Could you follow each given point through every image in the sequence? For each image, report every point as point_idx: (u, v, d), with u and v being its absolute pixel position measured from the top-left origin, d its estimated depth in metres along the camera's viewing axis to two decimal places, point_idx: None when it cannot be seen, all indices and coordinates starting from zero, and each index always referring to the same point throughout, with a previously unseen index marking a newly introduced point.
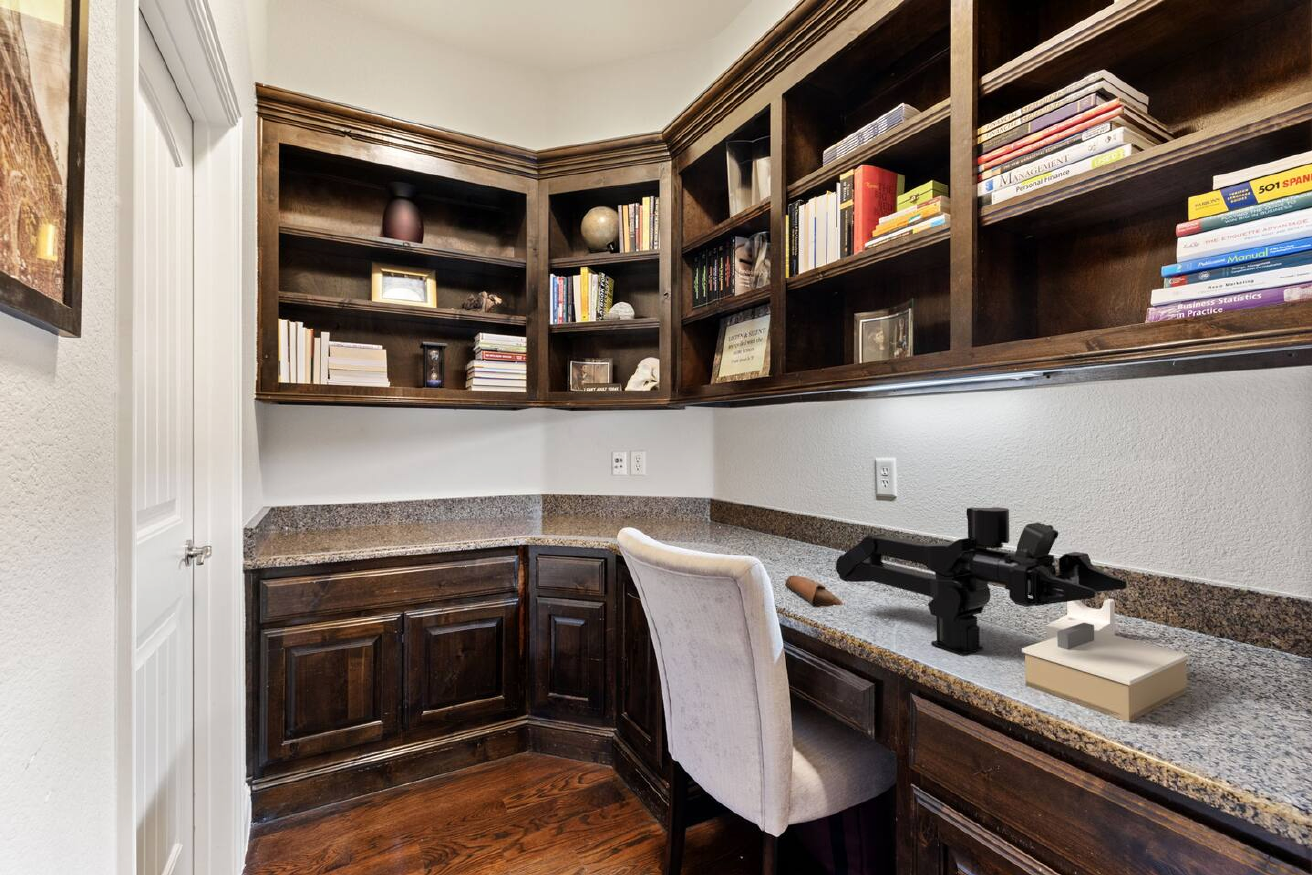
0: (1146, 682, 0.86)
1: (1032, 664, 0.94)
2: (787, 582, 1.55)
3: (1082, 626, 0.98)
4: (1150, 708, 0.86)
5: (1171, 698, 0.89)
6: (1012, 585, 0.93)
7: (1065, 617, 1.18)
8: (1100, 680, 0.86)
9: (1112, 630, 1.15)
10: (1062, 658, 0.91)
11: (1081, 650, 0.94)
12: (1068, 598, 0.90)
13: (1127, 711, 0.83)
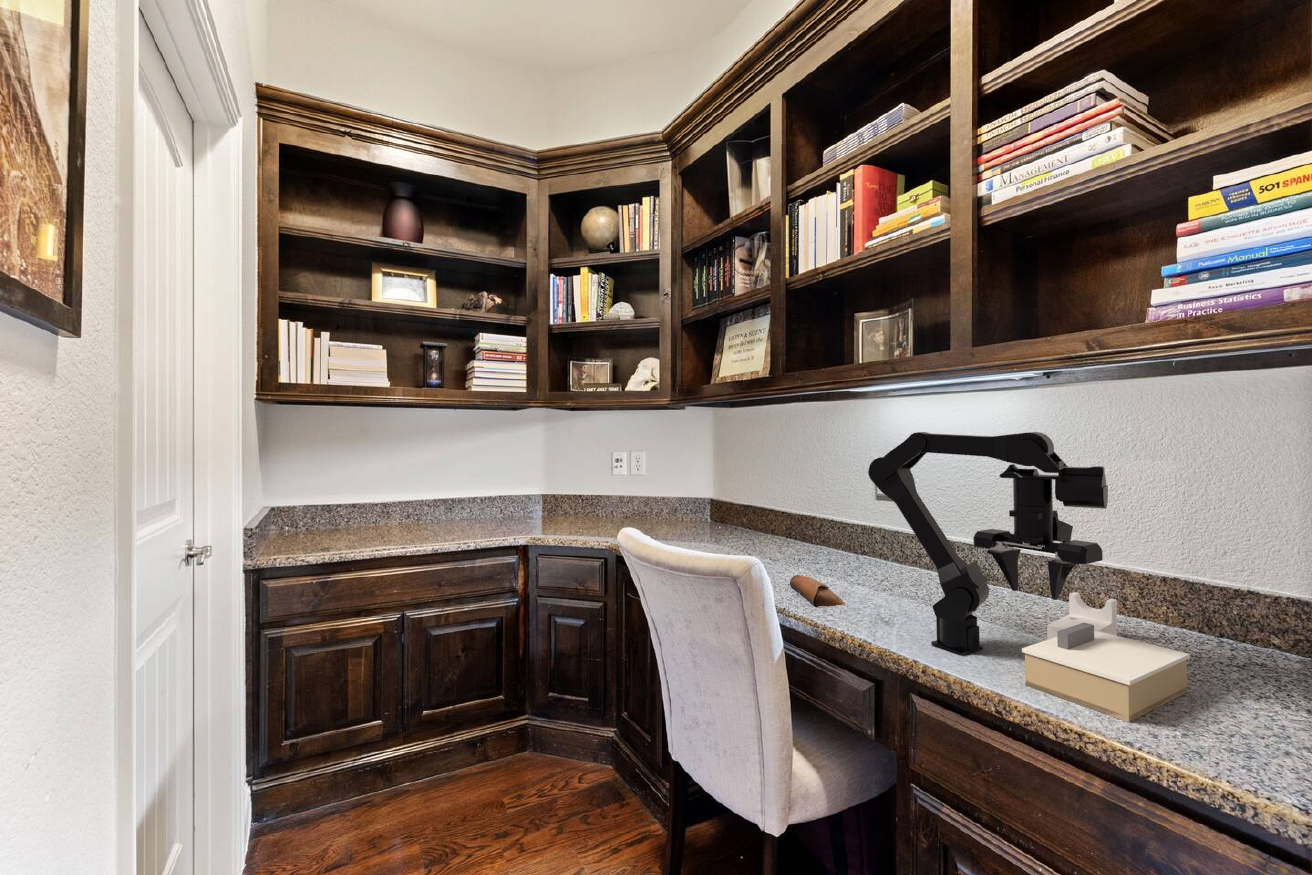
0: (1146, 682, 0.86)
1: (1032, 664, 0.94)
2: (791, 581, 1.55)
3: (1082, 626, 0.98)
4: (1150, 708, 0.86)
5: (1171, 698, 0.89)
6: (1093, 550, 0.95)
7: (1067, 617, 1.18)
8: (1100, 680, 0.86)
9: (1114, 630, 1.15)
10: (1062, 658, 0.91)
11: (1081, 650, 0.94)
12: (1056, 583, 0.99)
13: (1127, 711, 0.83)
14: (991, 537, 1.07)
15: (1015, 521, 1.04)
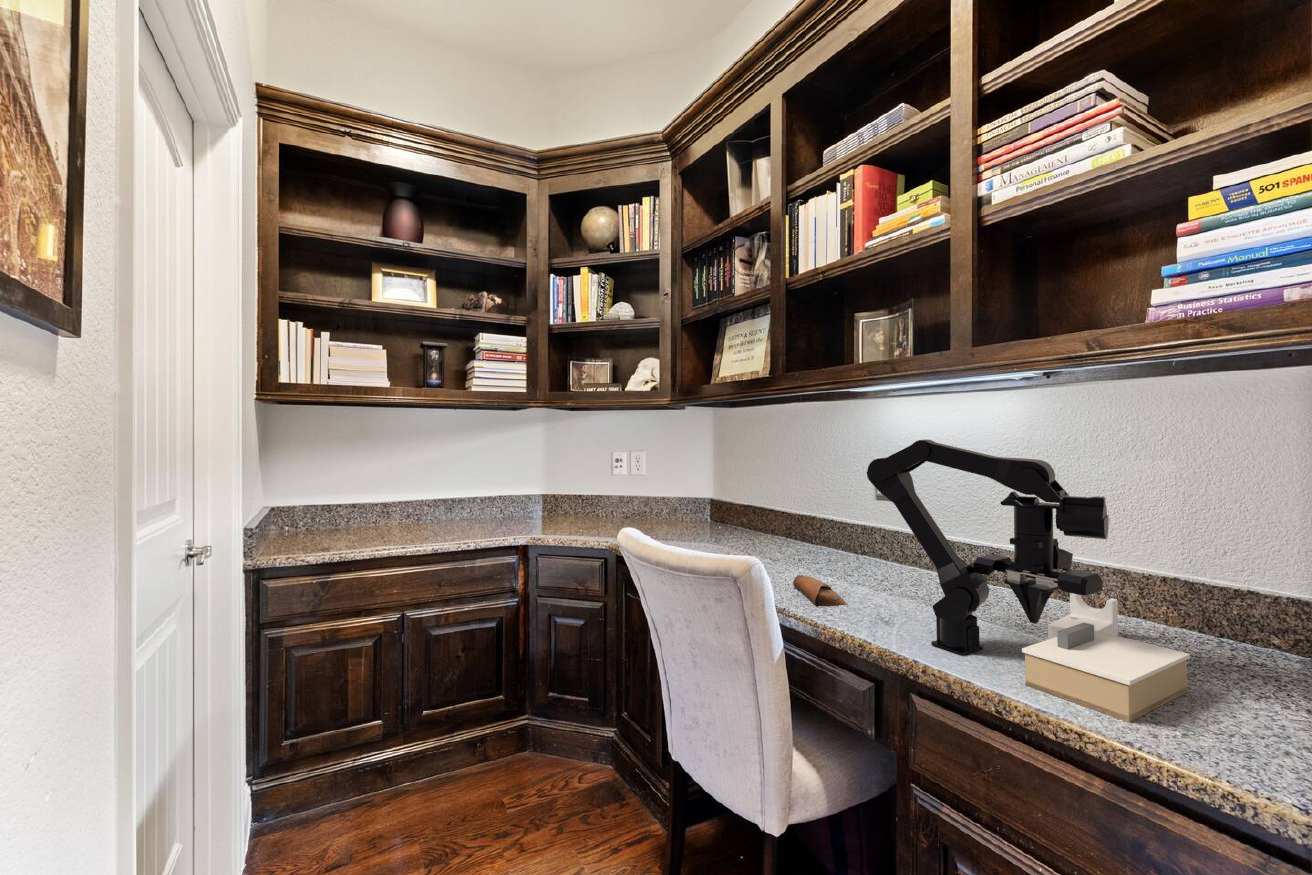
0: (1146, 682, 0.86)
1: (1032, 664, 0.94)
2: (794, 581, 1.55)
3: (1082, 626, 0.98)
4: (1150, 708, 0.86)
5: (1171, 698, 0.89)
6: (1093, 581, 0.95)
7: (1068, 617, 1.18)
8: (1100, 680, 0.86)
9: (1115, 630, 1.15)
10: (1062, 658, 0.91)
11: (1081, 650, 0.94)
12: (1036, 607, 1.02)
13: (1127, 711, 0.83)
14: (991, 564, 1.07)
15: (1015, 549, 1.04)
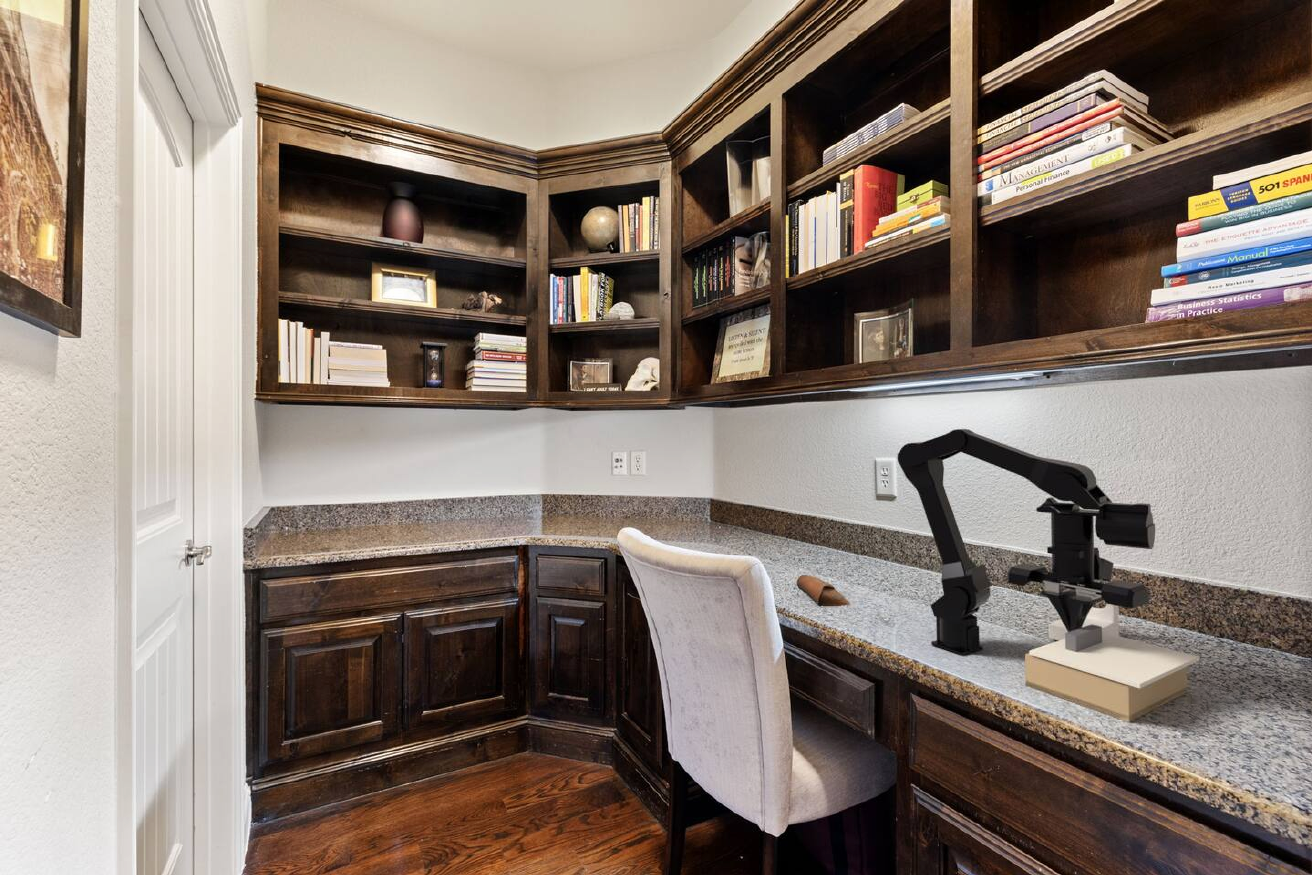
0: None
1: (1032, 664, 0.94)
2: (798, 581, 1.55)
3: (1089, 628, 0.97)
4: (1150, 708, 0.86)
5: (1171, 698, 0.89)
6: (1140, 592, 0.90)
7: None
8: (1100, 680, 0.86)
9: (1116, 629, 1.15)
10: (1070, 661, 0.90)
11: (1089, 652, 0.93)
12: (1077, 620, 0.97)
13: (1127, 711, 0.83)
14: (1027, 574, 1.02)
15: (1053, 558, 0.98)
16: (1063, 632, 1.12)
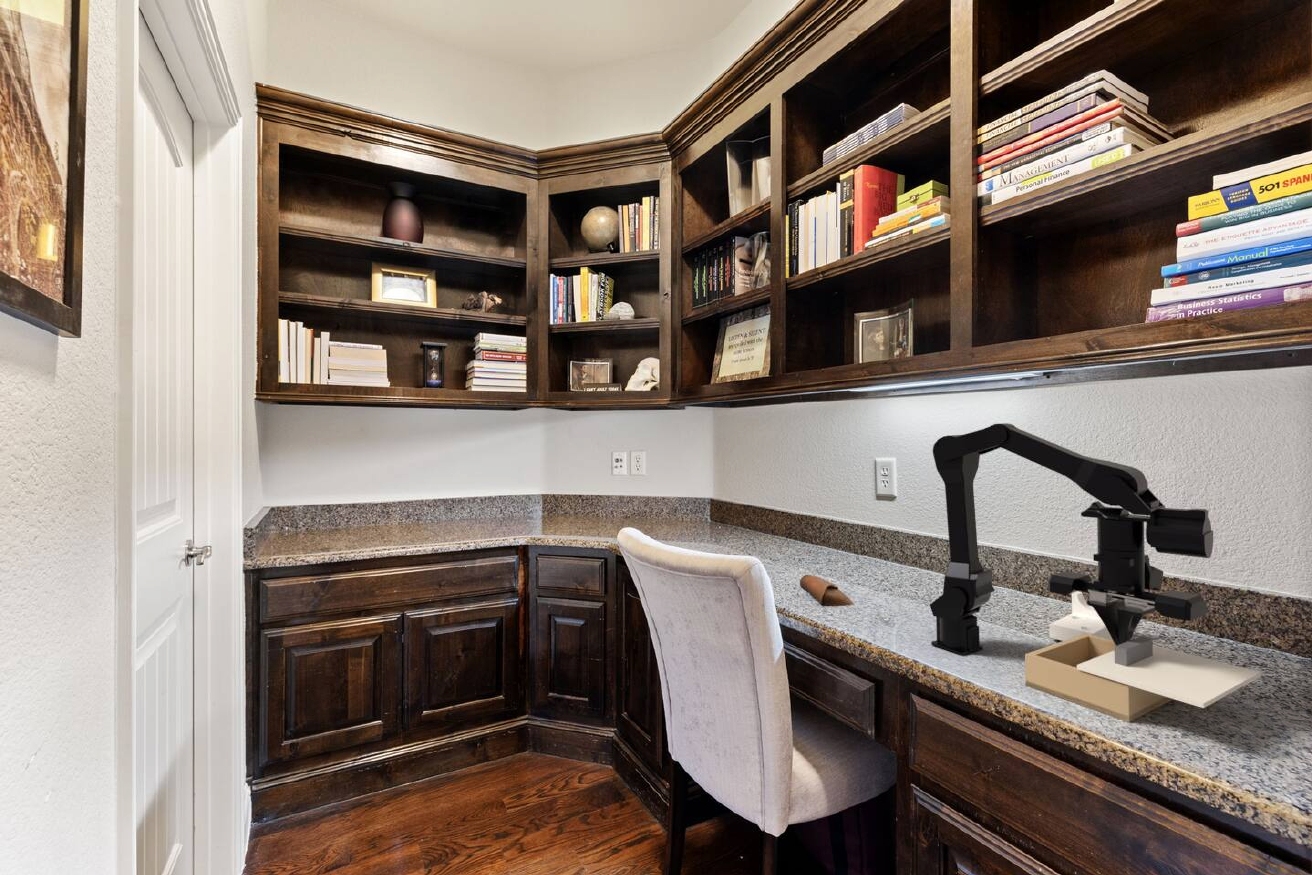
0: None
1: (1032, 664, 0.94)
2: (801, 581, 1.55)
3: (1139, 640, 0.91)
4: (1150, 708, 0.86)
5: (1171, 698, 0.89)
6: (1198, 604, 0.84)
7: (1069, 616, 1.19)
8: (1100, 680, 0.86)
9: None
10: (1122, 676, 0.84)
11: (1141, 667, 0.87)
12: (1126, 632, 0.91)
13: (1127, 711, 0.83)
14: (1070, 583, 0.96)
15: (1100, 566, 0.93)
16: (1064, 632, 1.12)
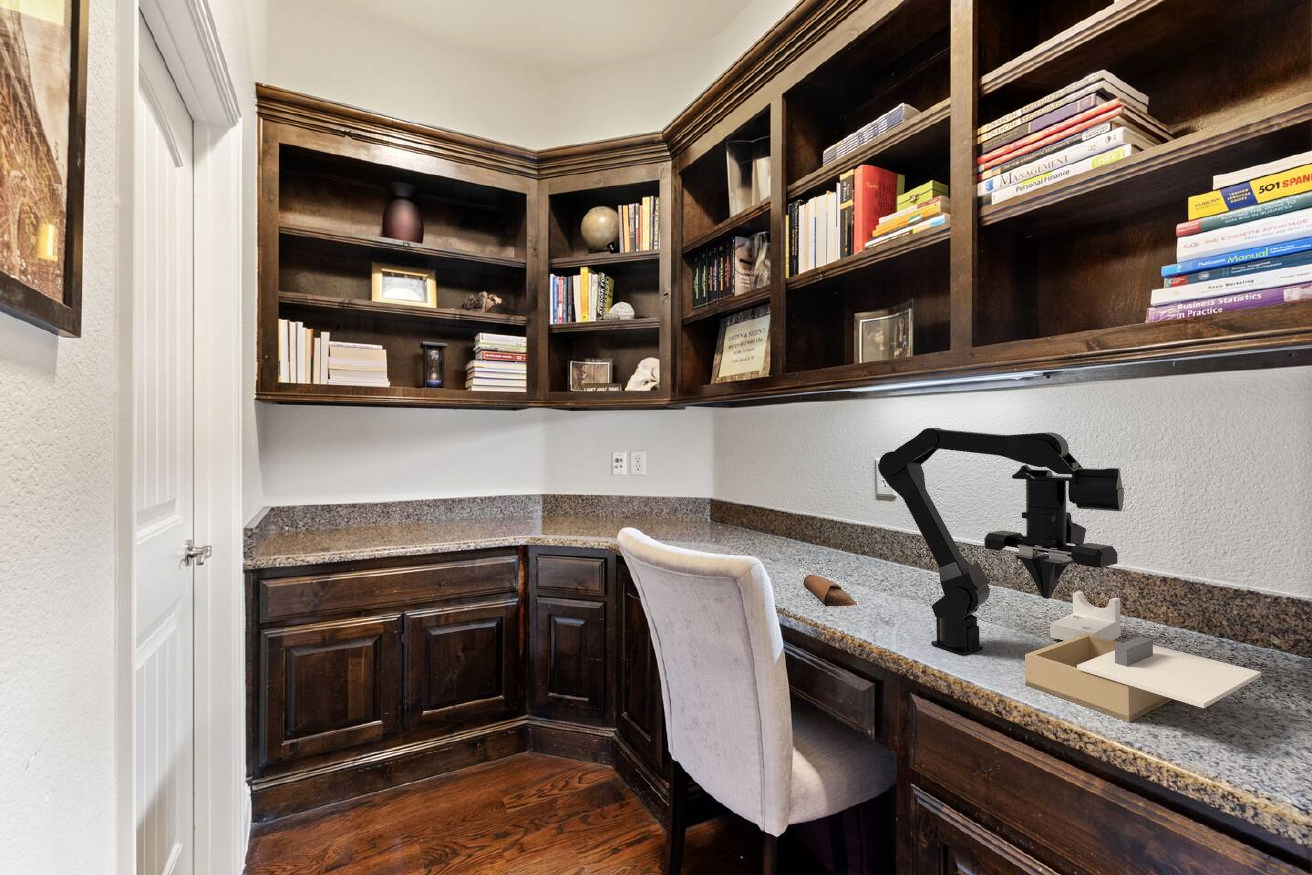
0: None
1: (1032, 664, 0.94)
2: (805, 581, 1.56)
3: (1140, 640, 0.91)
4: (1150, 708, 0.86)
5: (1171, 698, 0.89)
6: (1108, 553, 0.93)
7: (1070, 616, 1.19)
8: (1100, 680, 0.86)
9: (1117, 629, 1.16)
10: (1123, 676, 0.84)
11: (1141, 667, 0.87)
12: (1049, 582, 1.00)
13: (1127, 711, 0.83)
14: (1002, 539, 1.05)
15: (1028, 523, 1.02)
16: (1065, 631, 1.13)
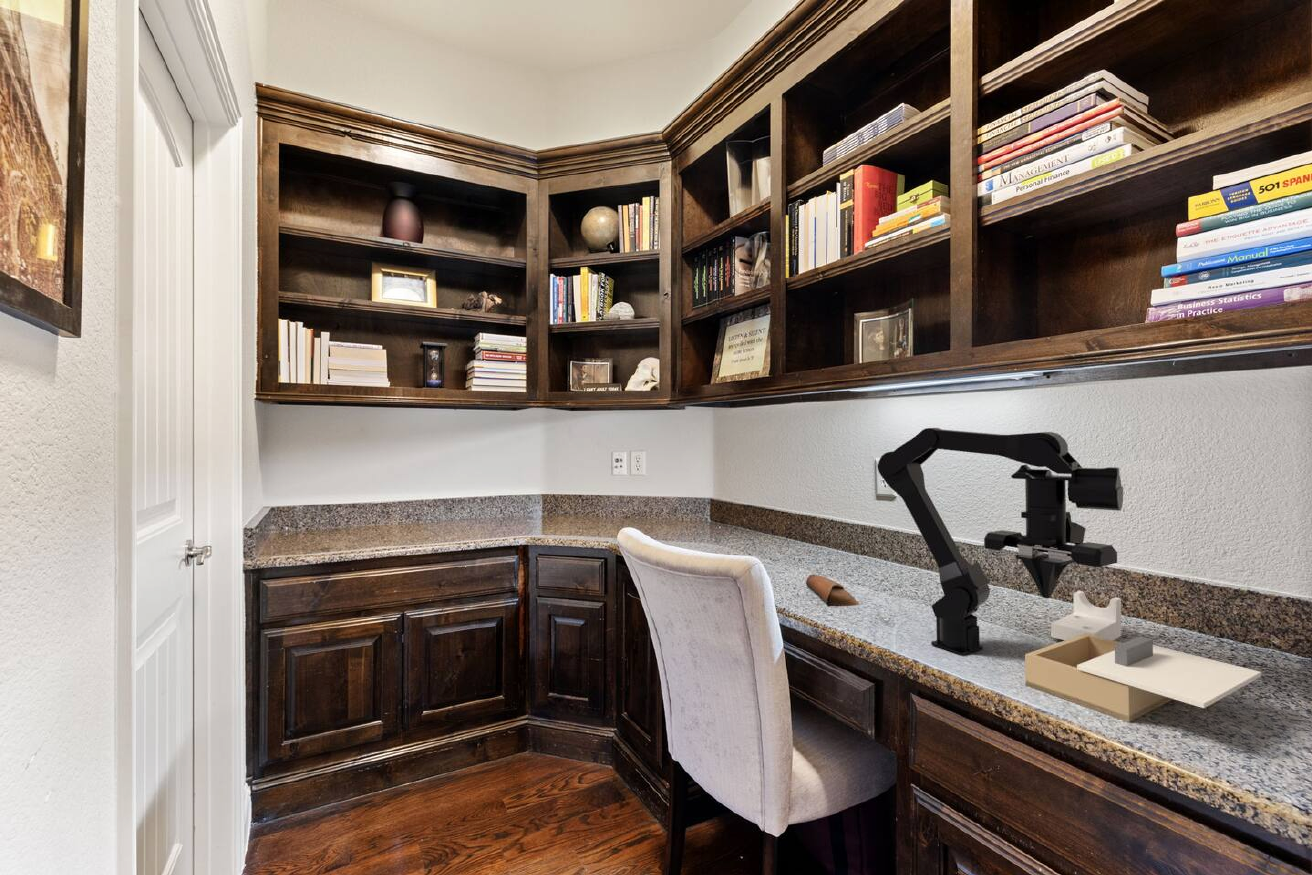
0: None
1: (1032, 664, 0.94)
2: (807, 581, 1.56)
3: (1140, 640, 0.91)
4: (1150, 708, 0.86)
5: (1171, 698, 0.89)
6: (1108, 552, 0.93)
7: (1071, 615, 1.19)
8: (1100, 680, 0.86)
9: (1118, 628, 1.16)
10: (1123, 676, 0.84)
11: (1141, 667, 0.87)
12: (1049, 582, 1.00)
13: (1127, 711, 0.83)
14: (1002, 539, 1.05)
15: (1027, 523, 1.02)
16: (1065, 631, 1.13)
